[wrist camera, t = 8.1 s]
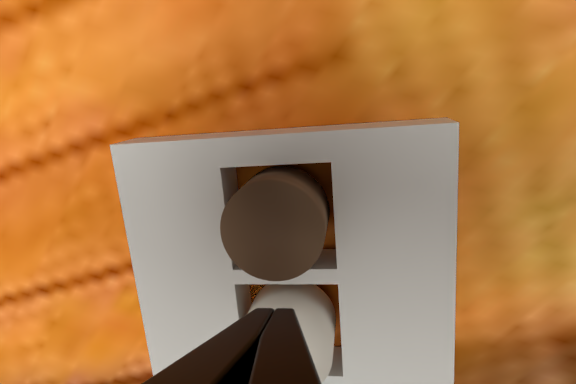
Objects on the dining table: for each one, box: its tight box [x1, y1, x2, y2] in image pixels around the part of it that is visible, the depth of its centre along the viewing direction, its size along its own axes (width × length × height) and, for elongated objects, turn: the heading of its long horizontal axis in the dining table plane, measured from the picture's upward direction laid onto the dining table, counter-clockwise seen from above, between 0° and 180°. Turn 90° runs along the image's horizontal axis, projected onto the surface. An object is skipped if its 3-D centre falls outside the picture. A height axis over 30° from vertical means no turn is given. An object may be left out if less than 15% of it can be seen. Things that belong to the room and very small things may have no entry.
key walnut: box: [220, 166, 330, 281], centre depth 19 cm, size 5×5×3 cm
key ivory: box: [248, 284, 336, 383], centre depth 21 cm, size 5×5×3 cm
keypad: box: [110, 117, 459, 384], centre depth 22 cm, size 16×20×2 cm
